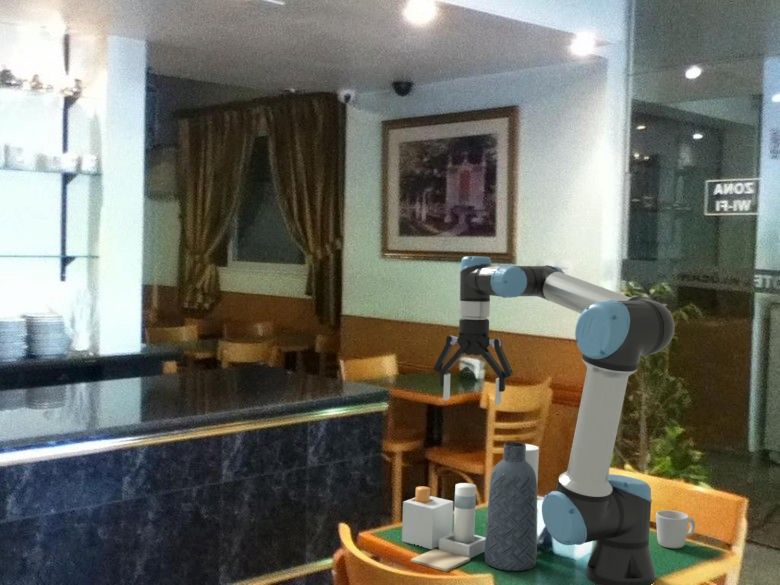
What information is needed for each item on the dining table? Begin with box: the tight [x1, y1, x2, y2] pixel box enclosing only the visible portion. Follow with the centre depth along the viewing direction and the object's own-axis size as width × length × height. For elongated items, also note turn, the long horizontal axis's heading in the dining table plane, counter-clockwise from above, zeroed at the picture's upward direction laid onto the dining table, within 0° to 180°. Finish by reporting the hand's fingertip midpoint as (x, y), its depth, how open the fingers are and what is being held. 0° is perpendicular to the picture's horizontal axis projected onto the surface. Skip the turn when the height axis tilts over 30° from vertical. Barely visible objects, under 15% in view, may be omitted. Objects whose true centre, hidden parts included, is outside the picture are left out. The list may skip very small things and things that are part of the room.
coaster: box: [410, 548, 471, 573], centre depth 223 cm, size 10×10×1 cm
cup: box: [655, 509, 696, 549], centre depth 240 cm, size 11×8×8 cm
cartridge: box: [453, 482, 477, 545], centre depth 231 cm, size 5×5×16 cm
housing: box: [401, 495, 486, 559], centre depth 234 cm, size 20×9×10 cm, turn 53°
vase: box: [484, 441, 538, 572], centre depth 222 cm, size 12×12×28 cm
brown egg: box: [414, 485, 431, 504], centre depth 238 cm, size 4×4×6 cm
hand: (472, 402), depth 239 cm, fingers open, 13 cm apart
